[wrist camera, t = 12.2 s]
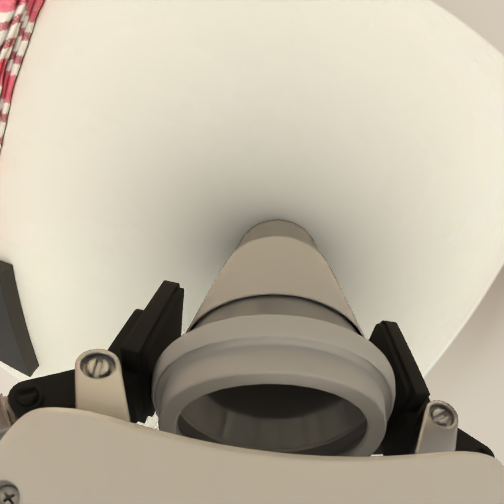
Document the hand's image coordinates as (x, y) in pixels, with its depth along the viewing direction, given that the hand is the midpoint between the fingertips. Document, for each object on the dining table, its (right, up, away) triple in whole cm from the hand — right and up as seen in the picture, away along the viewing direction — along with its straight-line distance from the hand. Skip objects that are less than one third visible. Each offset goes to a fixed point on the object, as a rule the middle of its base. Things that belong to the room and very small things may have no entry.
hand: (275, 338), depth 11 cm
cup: (+1, +3, +7) cm, 7 cm away
